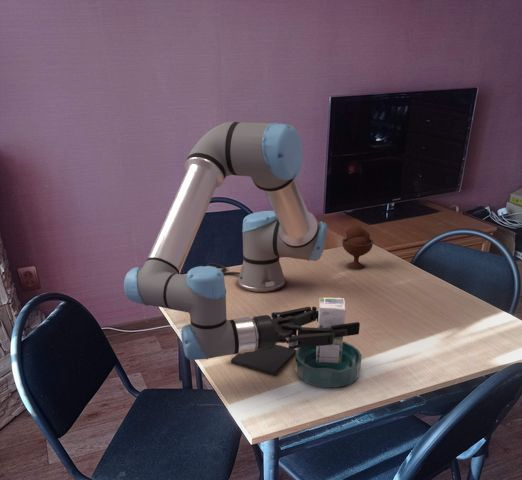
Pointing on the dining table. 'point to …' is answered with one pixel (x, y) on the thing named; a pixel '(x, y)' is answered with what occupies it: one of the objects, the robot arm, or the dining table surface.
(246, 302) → the dining table surface
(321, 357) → the syrup box
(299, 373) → the bowl
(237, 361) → the mat
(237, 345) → the robot arm
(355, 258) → the ice cream bowl
